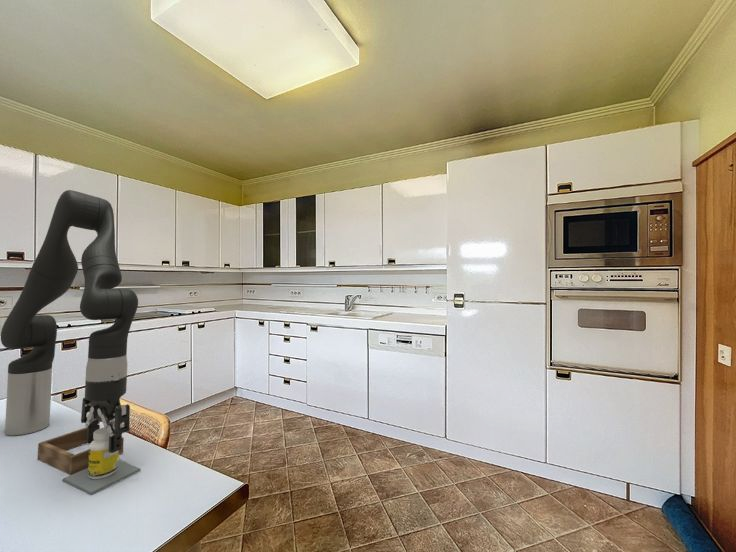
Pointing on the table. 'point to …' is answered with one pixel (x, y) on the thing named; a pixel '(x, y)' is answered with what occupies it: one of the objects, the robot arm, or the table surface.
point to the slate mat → (96, 485)
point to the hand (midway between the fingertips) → (103, 446)
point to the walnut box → (58, 456)
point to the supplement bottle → (101, 456)
